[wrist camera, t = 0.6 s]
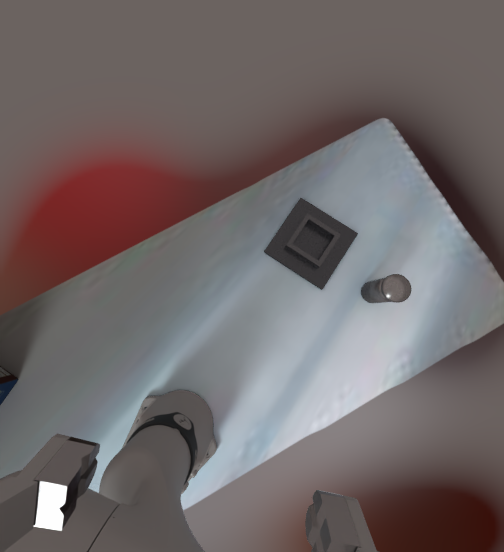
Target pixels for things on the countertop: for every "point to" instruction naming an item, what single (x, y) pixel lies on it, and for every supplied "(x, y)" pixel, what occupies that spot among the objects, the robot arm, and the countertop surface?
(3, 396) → the protein box
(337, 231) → the duct collar
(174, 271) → the countertop surface
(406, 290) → the grey cylinder
